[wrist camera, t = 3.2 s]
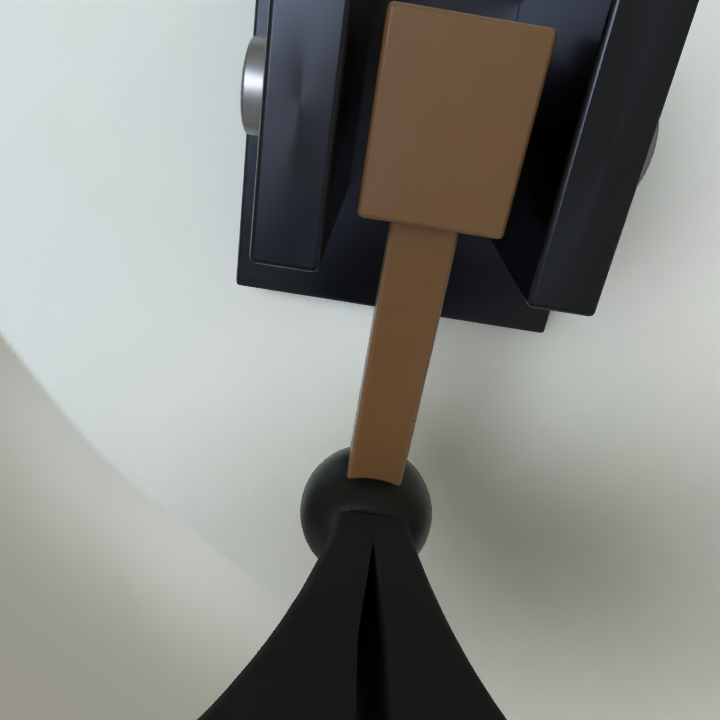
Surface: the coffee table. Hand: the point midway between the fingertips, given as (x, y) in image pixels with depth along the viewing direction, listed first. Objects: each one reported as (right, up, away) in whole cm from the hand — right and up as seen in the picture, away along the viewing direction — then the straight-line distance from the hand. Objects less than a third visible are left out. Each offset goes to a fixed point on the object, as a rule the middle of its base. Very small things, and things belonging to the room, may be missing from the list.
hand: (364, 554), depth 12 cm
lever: (+1, +5, +1) cm, 5 cm away
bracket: (+2, +10, +3) cm, 10 cm away
